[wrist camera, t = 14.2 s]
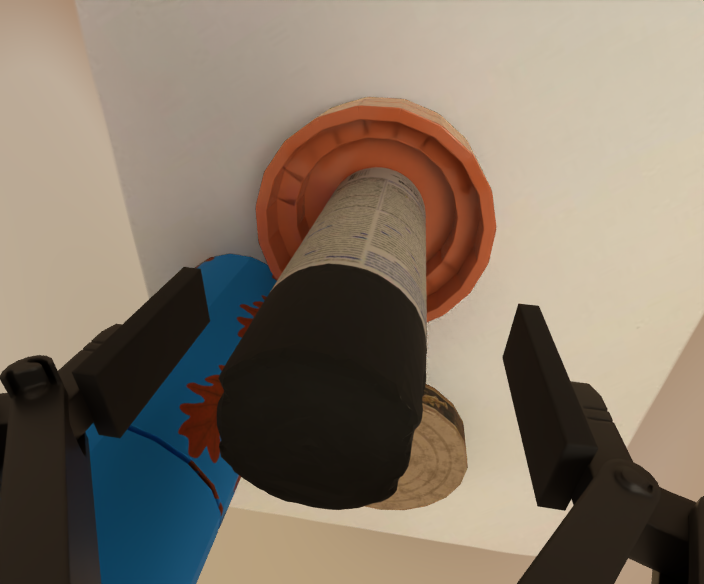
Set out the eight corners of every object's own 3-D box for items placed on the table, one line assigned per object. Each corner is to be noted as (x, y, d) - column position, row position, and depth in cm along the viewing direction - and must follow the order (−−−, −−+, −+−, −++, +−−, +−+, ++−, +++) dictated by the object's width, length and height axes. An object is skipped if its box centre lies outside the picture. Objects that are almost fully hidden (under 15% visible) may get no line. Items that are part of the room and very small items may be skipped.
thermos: (248, 228, 32) (-110, 600, 10) (329, 328, 35) (189, 753, 14) (158, 289, 36) (-225, 641, 15) (239, 373, 40) (28, 751, 18)
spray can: (324, 244, 31) (201, 489, 14) (338, 152, 27) (197, 328, 10) (411, 264, 30) (398, 538, 13) (437, 174, 27) (463, 392, 10)
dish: (274, 90, 26) (245, 98, 22) (506, 103, 25) (522, 115, 21) (284, 285, 34) (264, 319, 30) (463, 304, 32) (469, 343, 28)
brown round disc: (494, 403, 37) (499, 430, 34) (428, 500, 45) (429, 527, 43) (324, 349, 37) (317, 372, 34) (290, 456, 45) (282, 481, 42)
